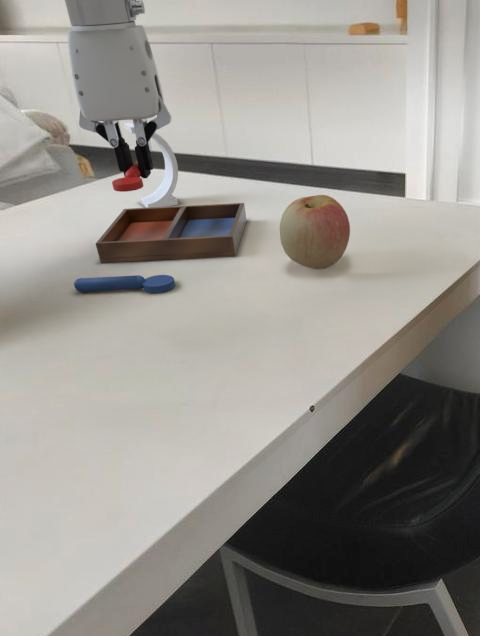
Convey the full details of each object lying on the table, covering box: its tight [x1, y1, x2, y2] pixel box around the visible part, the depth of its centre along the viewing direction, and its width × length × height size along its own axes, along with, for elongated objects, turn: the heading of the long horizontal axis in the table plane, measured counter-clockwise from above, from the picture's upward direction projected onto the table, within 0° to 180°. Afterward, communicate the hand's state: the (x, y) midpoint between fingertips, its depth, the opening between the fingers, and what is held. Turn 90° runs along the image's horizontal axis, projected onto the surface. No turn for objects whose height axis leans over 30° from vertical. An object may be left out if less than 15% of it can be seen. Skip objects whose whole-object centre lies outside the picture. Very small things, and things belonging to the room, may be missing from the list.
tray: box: [95, 202, 247, 264], centre depth 97 cm, size 18×16×3 cm
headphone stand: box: [123, 122, 180, 208], centre depth 110 cm, size 5×6×12 cm
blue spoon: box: [73, 274, 176, 294], centre depth 83 cm, size 4×12×2 cm, turn 92°
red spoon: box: [111, 160, 144, 193], centre depth 92 cm, size 4×12×2 cm, turn 2°
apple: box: [279, 194, 351, 270], centre depth 85 cm, size 9×9×8 cm
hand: (138, 175), depth 94 cm, fingers closed on red spoon, 1 cm apart
